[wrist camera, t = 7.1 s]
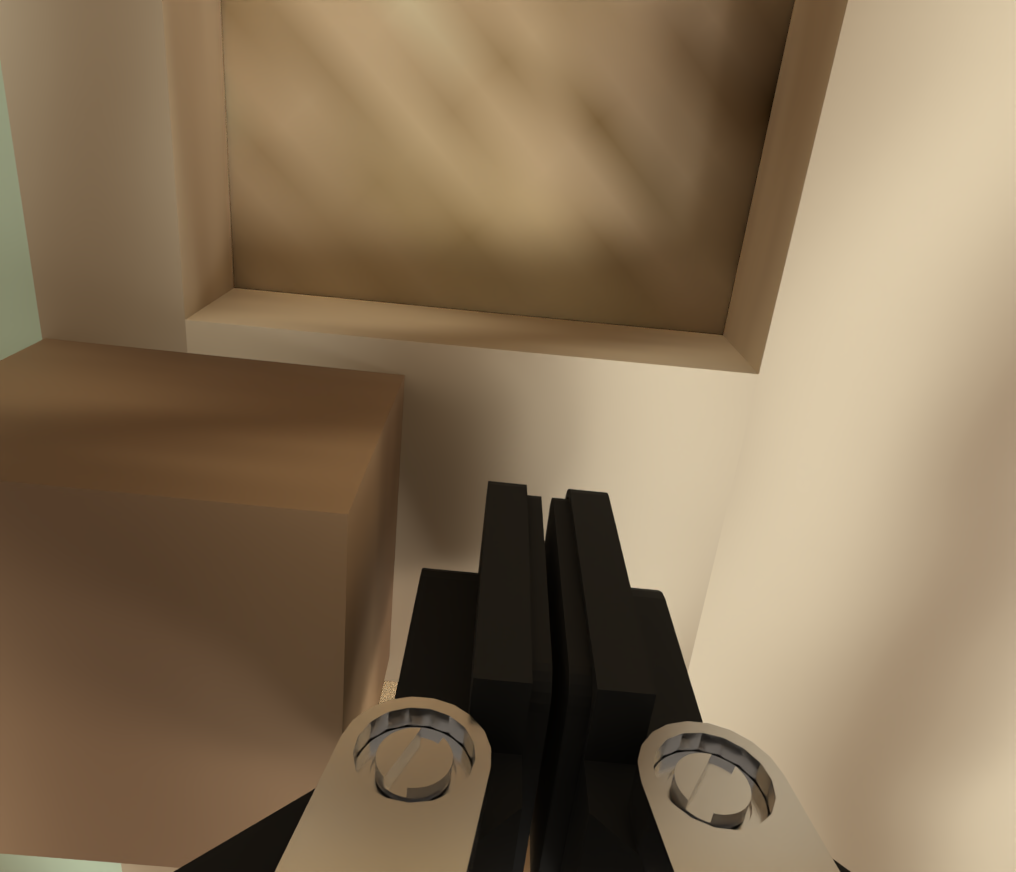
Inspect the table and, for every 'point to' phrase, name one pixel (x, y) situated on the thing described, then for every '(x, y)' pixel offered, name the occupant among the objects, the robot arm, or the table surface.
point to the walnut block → (184, 590)
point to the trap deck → (648, 387)
